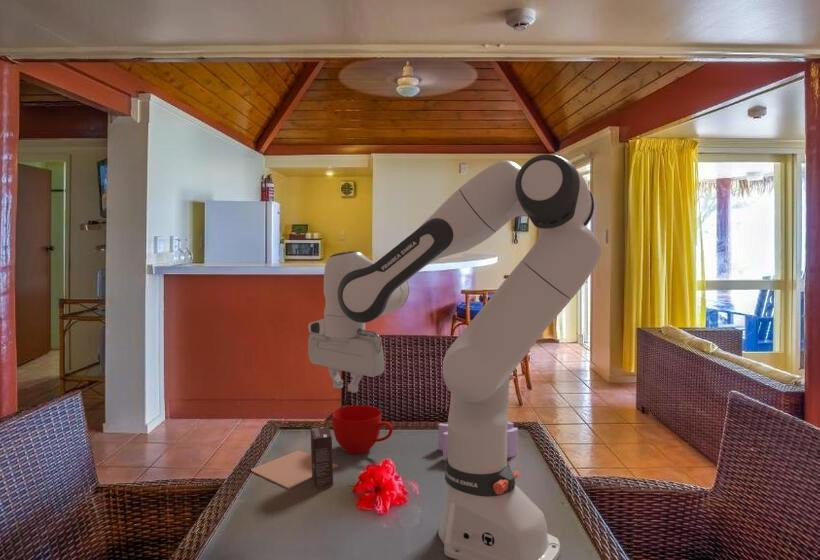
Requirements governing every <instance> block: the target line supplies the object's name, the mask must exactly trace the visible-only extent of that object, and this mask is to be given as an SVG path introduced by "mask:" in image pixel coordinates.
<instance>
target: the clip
mask: <svg viewBox="0 0 820 560" xmlns="http://www.w3.org/2000/svg"><path fill="white" fill-rule="evenodd" d="M518 448H519V428H518V427H514V422H511V421H508V422H507V459H509V458H514V457H516V456H517V455H518V454H519V453H518V450H519V449H518ZM437 449H438V451H442V460H443V461H445V462H446V458H447V457H448V422H447V423H438V448H437Z"/></svg>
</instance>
